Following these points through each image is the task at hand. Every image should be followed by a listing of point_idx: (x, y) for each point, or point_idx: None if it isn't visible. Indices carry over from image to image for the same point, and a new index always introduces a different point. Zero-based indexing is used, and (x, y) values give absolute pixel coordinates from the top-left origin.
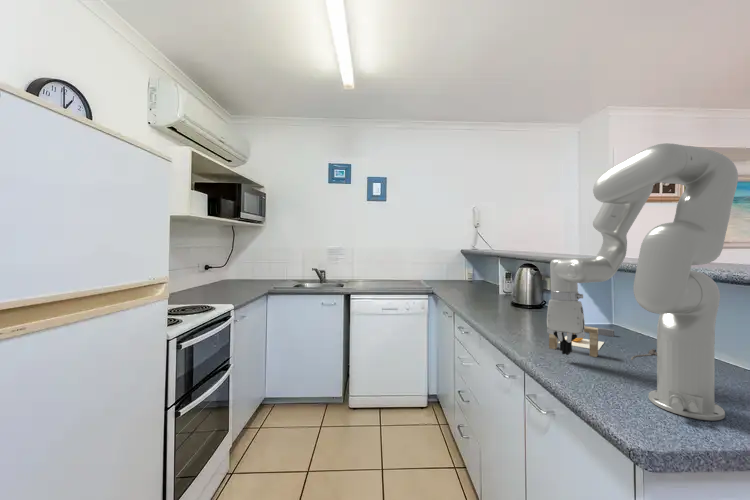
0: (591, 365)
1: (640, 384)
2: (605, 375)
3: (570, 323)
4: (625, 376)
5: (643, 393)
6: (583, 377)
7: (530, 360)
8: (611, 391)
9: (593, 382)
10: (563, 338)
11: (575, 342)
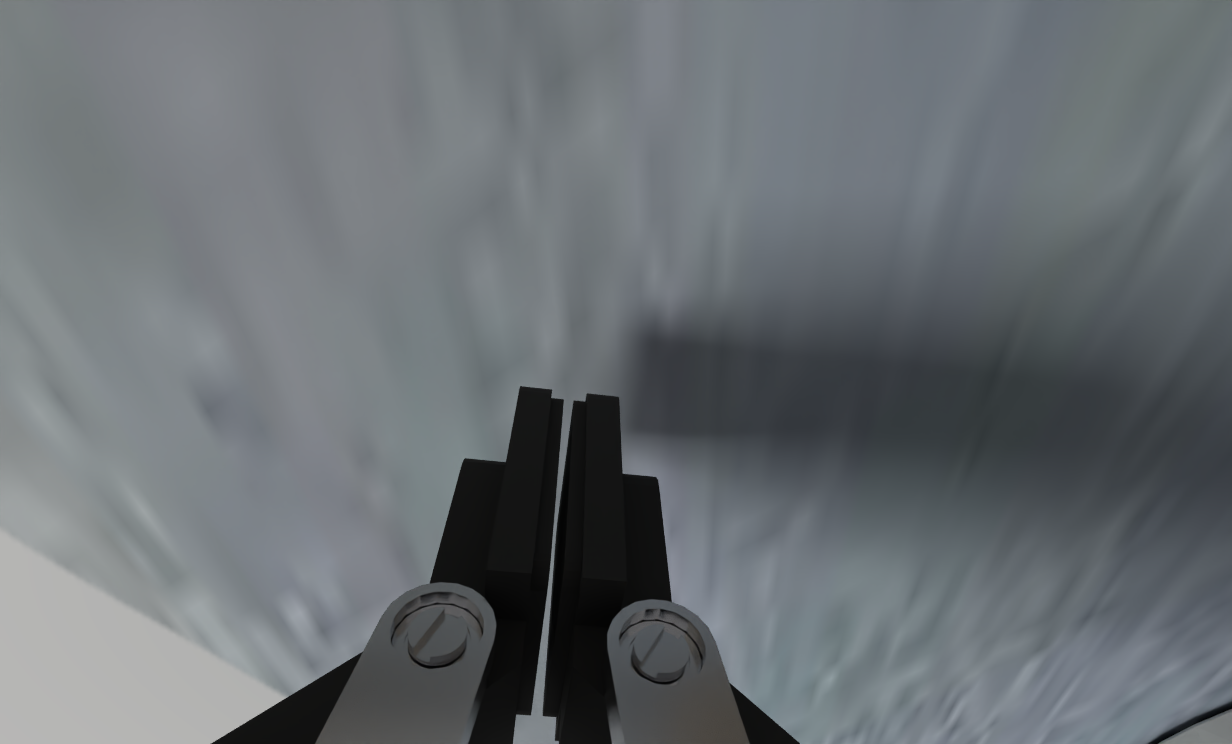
0: (895, 320)
1: (1206, 601)
2: (963, 559)
3: None
4: (1176, 485)
5: (1116, 728)
6: (747, 687)
7: (164, 554)
8: None
9: (812, 729)
10: (488, 741)
11: None
